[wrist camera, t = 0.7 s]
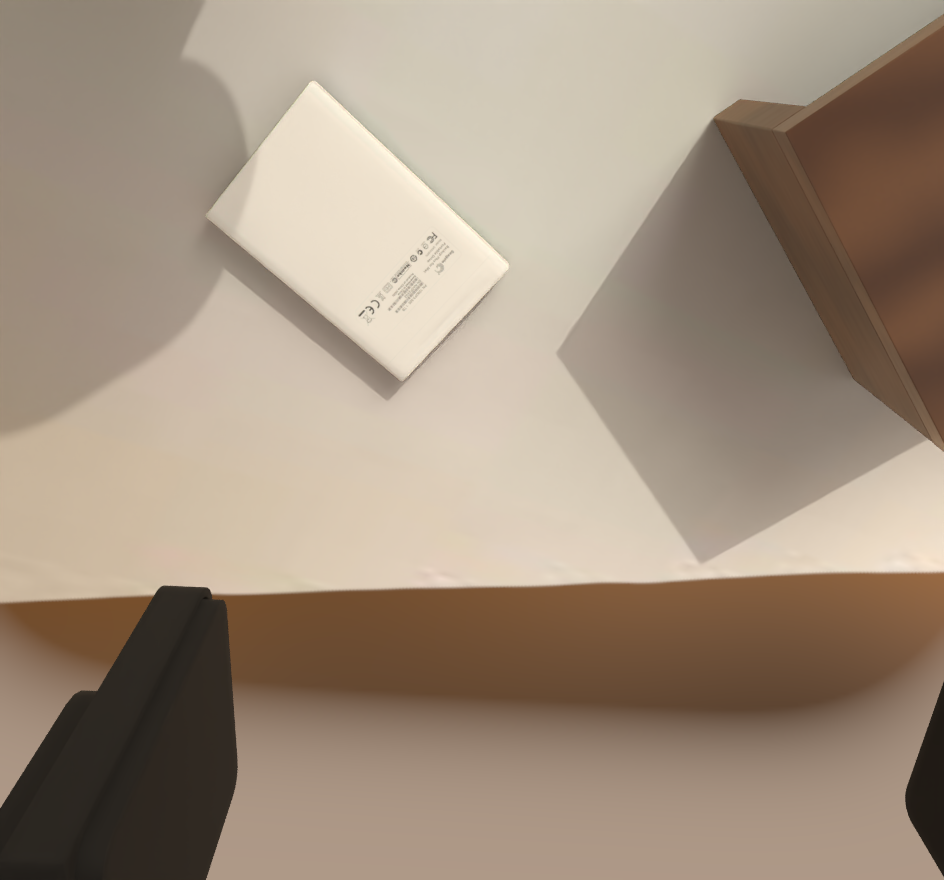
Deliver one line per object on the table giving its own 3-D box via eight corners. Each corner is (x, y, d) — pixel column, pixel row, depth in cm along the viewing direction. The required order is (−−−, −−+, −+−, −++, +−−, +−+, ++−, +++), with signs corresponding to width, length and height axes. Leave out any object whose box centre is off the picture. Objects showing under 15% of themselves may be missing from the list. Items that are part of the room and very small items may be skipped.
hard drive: (316, 79, 39) (509, 262, 43) (212, 212, 42) (402, 374, 45) (310, 80, 38) (510, 269, 41) (202, 217, 40) (400, 385, 44)
